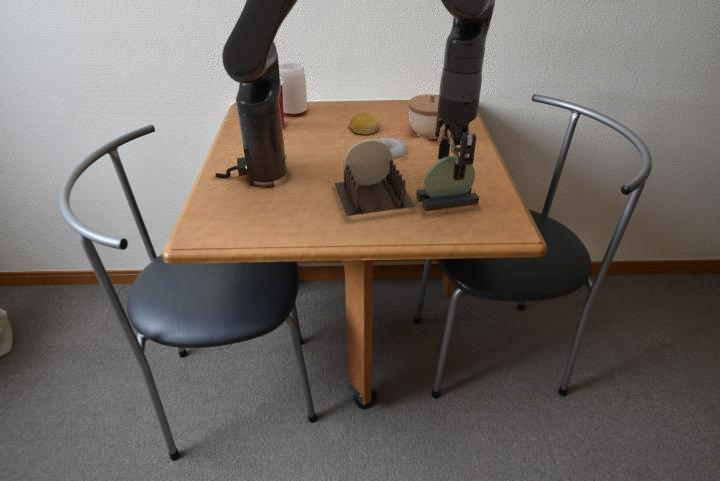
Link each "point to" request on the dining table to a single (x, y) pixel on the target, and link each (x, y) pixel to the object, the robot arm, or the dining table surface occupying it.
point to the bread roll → (364, 123)
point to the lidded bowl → (424, 115)
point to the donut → (395, 147)
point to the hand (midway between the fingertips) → (450, 169)
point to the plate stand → (446, 200)
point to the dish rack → (373, 193)
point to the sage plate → (447, 179)
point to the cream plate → (368, 161)
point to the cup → (293, 87)
